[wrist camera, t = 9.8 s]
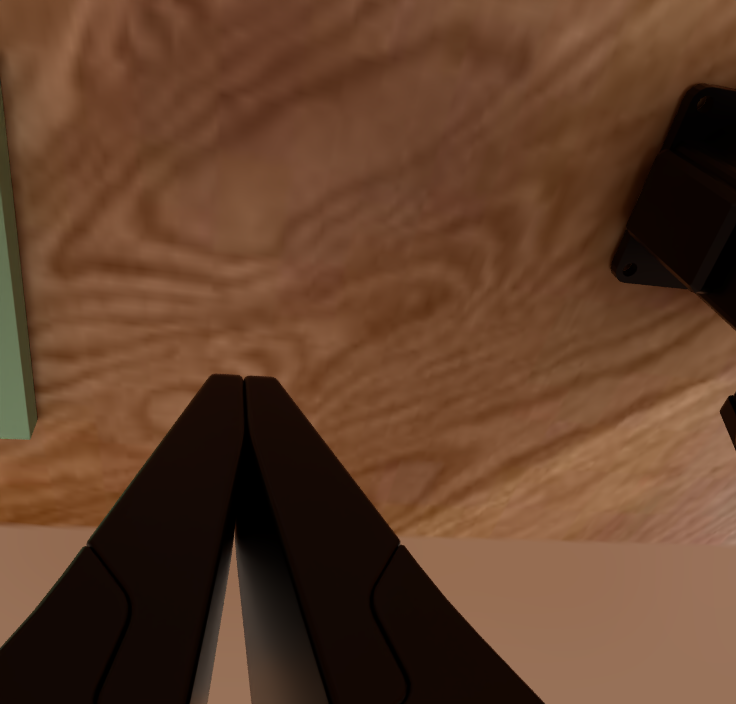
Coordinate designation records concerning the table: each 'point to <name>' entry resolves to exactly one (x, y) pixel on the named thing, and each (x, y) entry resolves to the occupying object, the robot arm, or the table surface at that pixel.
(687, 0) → the table surface
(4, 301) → the putting mat
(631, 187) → the table surface
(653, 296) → the table surface
